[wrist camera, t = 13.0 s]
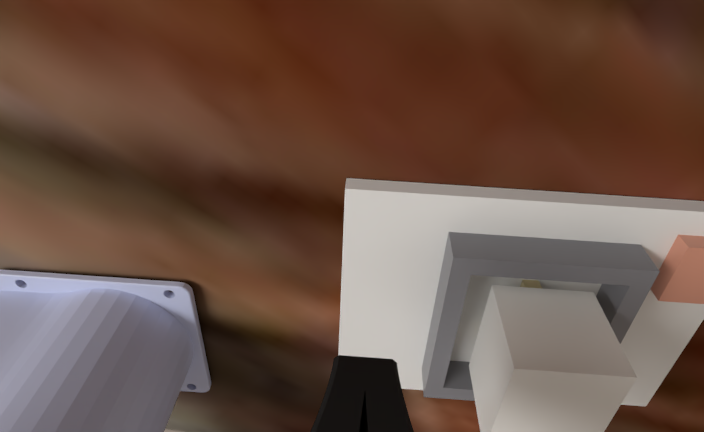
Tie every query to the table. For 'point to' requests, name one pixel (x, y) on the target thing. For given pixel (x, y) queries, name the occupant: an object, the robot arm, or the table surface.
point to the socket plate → (512, 272)
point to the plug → (547, 362)
